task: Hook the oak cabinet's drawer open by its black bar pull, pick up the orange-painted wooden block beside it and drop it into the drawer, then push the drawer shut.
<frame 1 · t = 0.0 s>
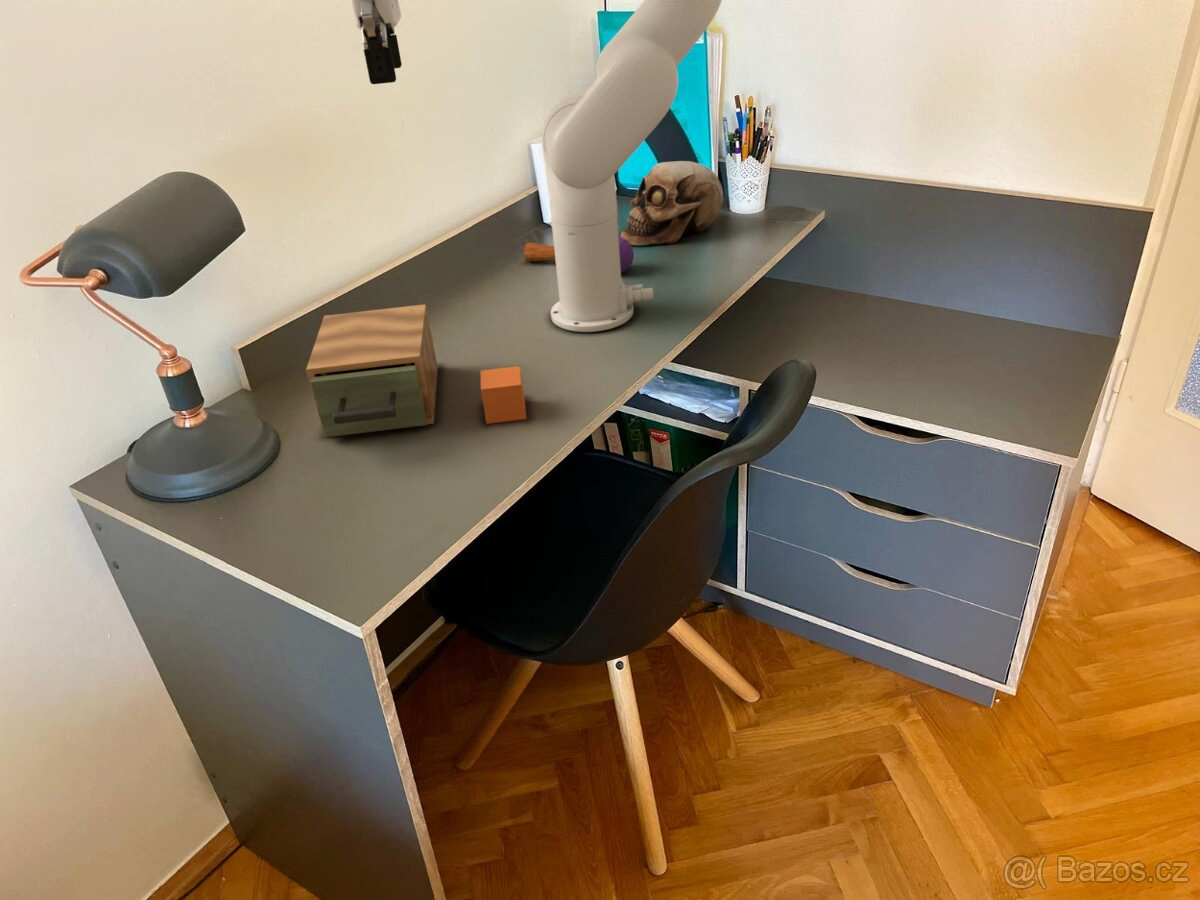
hand: (386, 75, 116), 37 cm above the table, tool pointing down, fingers open, 9 cm apart
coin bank: (670, 233, 165), on the table
cabinet: (384, 399, 120), on the table
block: (505, 411, 115), on the table
kendama: (579, 268, 154), on the table
drawer: (373, 385, 113), point 5 cm above the table, slide at 0.5 cm
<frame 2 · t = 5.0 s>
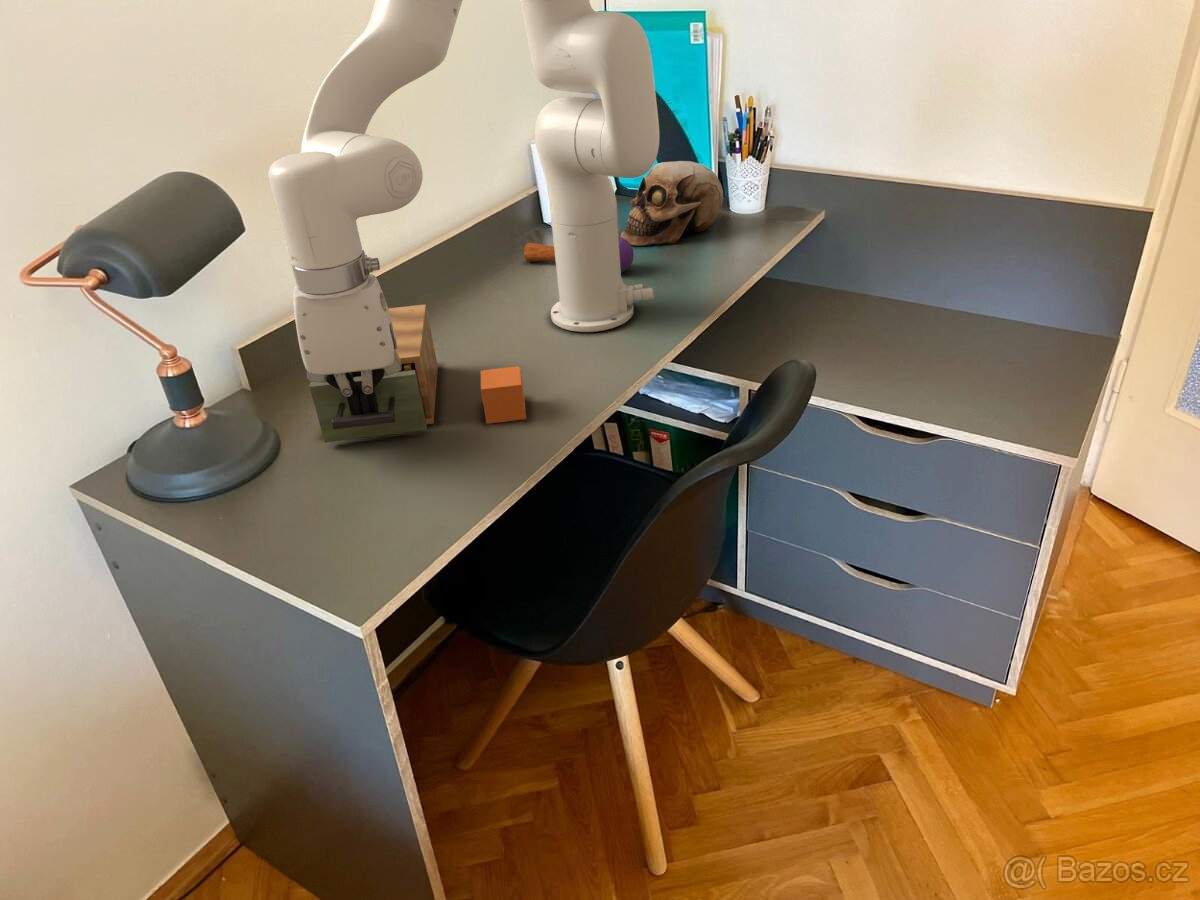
hand: (366, 418, 107), 5 cm above the table, tool pointing down, fingers closed
drawer: (372, 389, 112), point 5 cm above the table, slide at 1.7 cm
everything else where it was.
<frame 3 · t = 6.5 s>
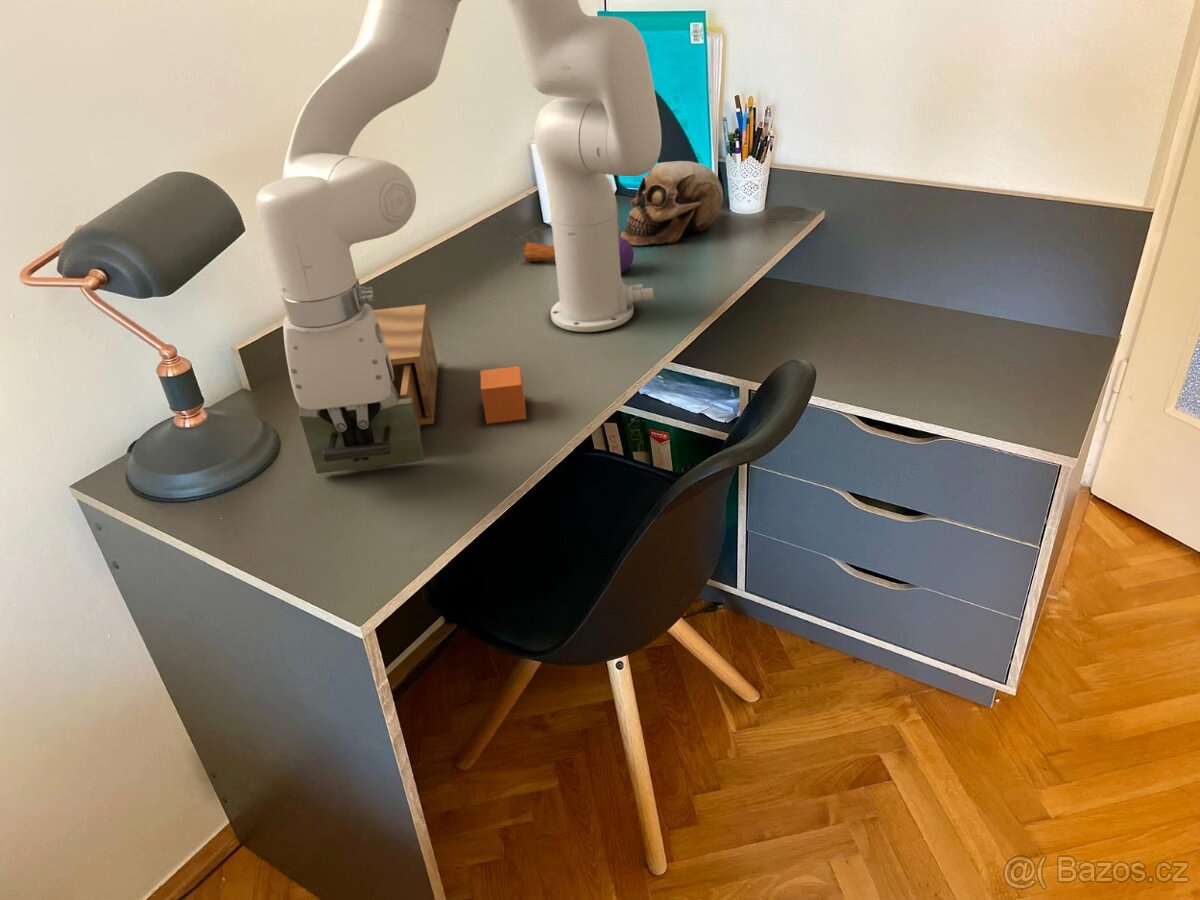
hand: (362, 453, 101), 4 cm above the table, tool pointing down, fingers closed
drawer: (367, 417, 106), point 5 cm above the table, slide at 8.5 cm, touching gripper
everything else where it was.
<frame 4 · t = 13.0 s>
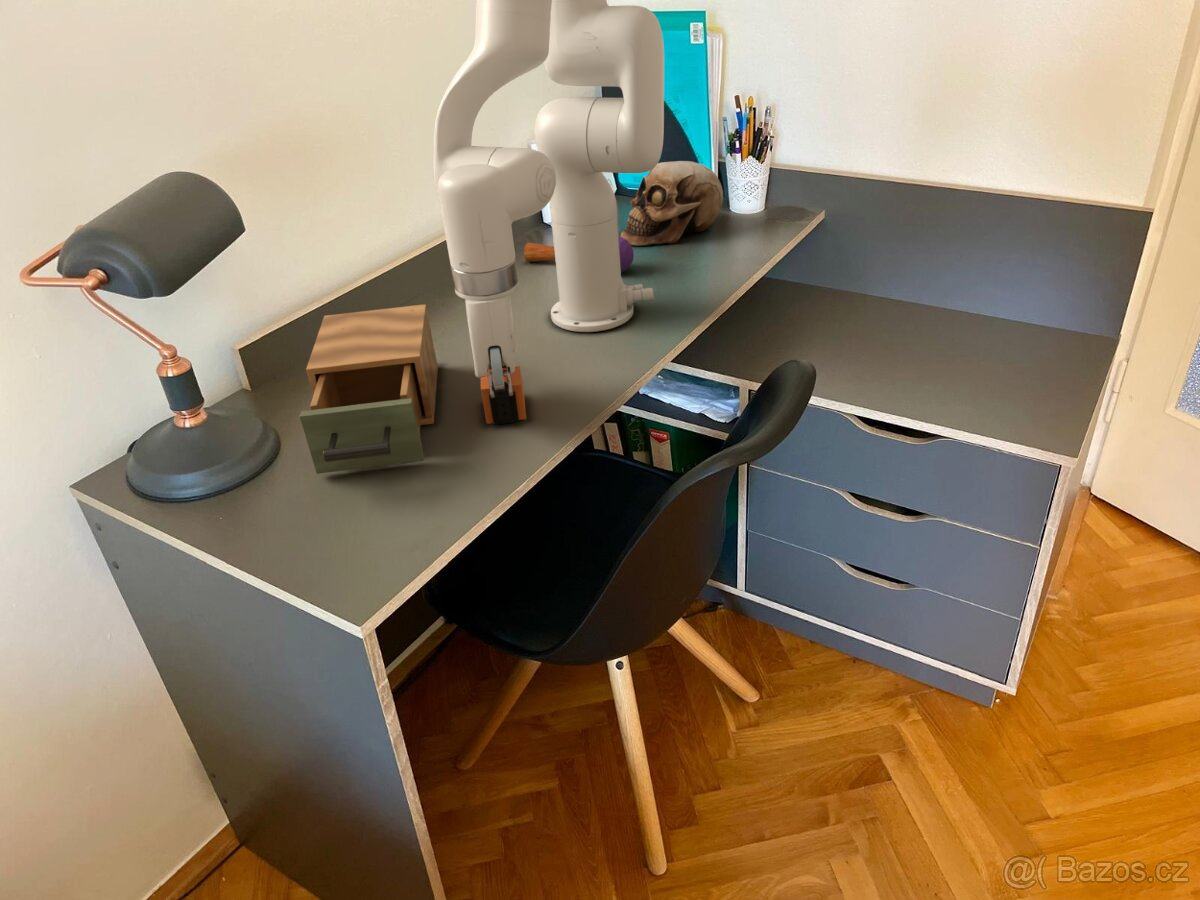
hand: (505, 408, 114), 0 cm above the table, tool pointing down, fingers closed on block, 5 cm apart
block: (505, 411, 115), on the table, touching gripper
drawer: (367, 417, 106), point 5 cm above the table, slide at 8.6 cm
everything else where it was.
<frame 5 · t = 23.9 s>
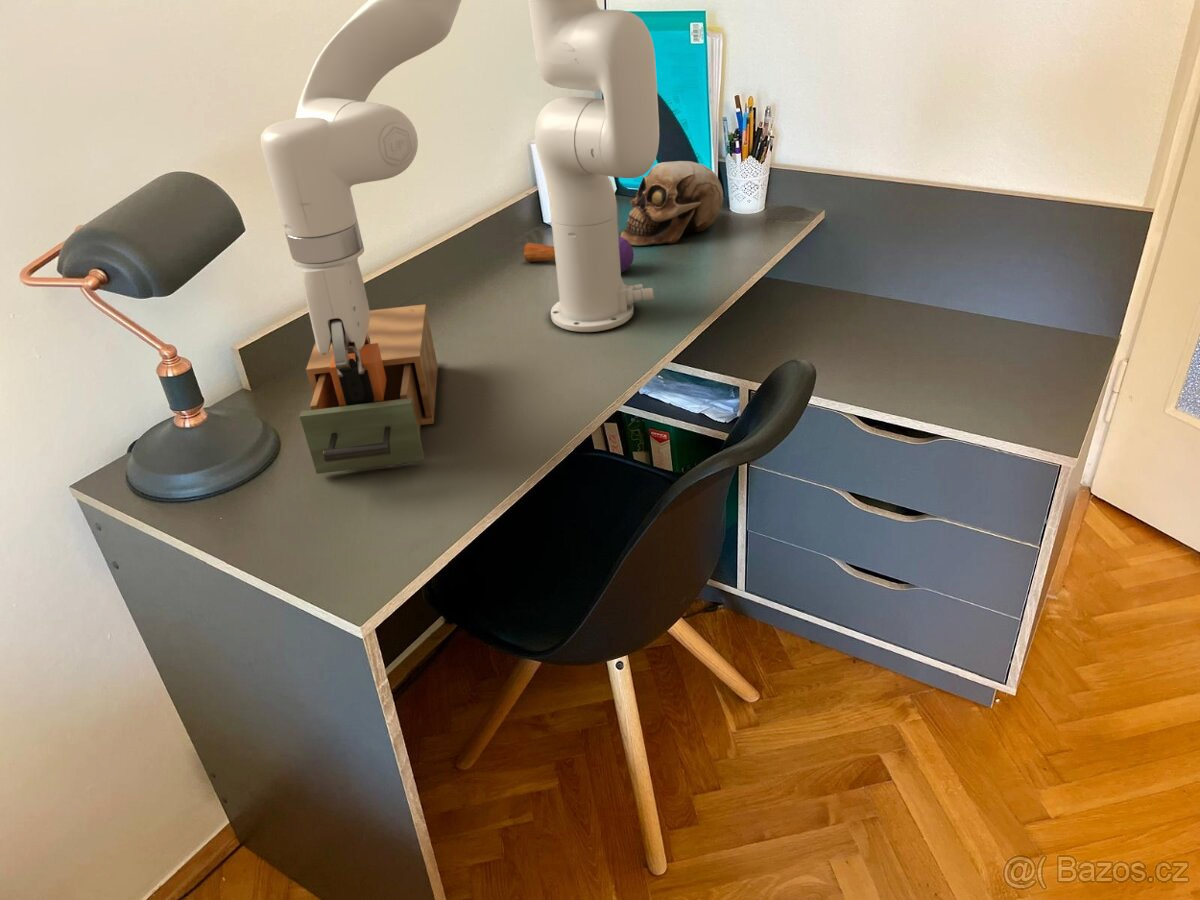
hand: (362, 389, 105), 8 cm above the table, tool pointing down, fingers closed on block, 5 cm apart
block: (363, 392, 105), point 8 cm above the table, touching gripper
everything else where it was.
when the fingers open (11 cm above the table, at t = 35.3 s): block drops 9 cm, resting on drawer.
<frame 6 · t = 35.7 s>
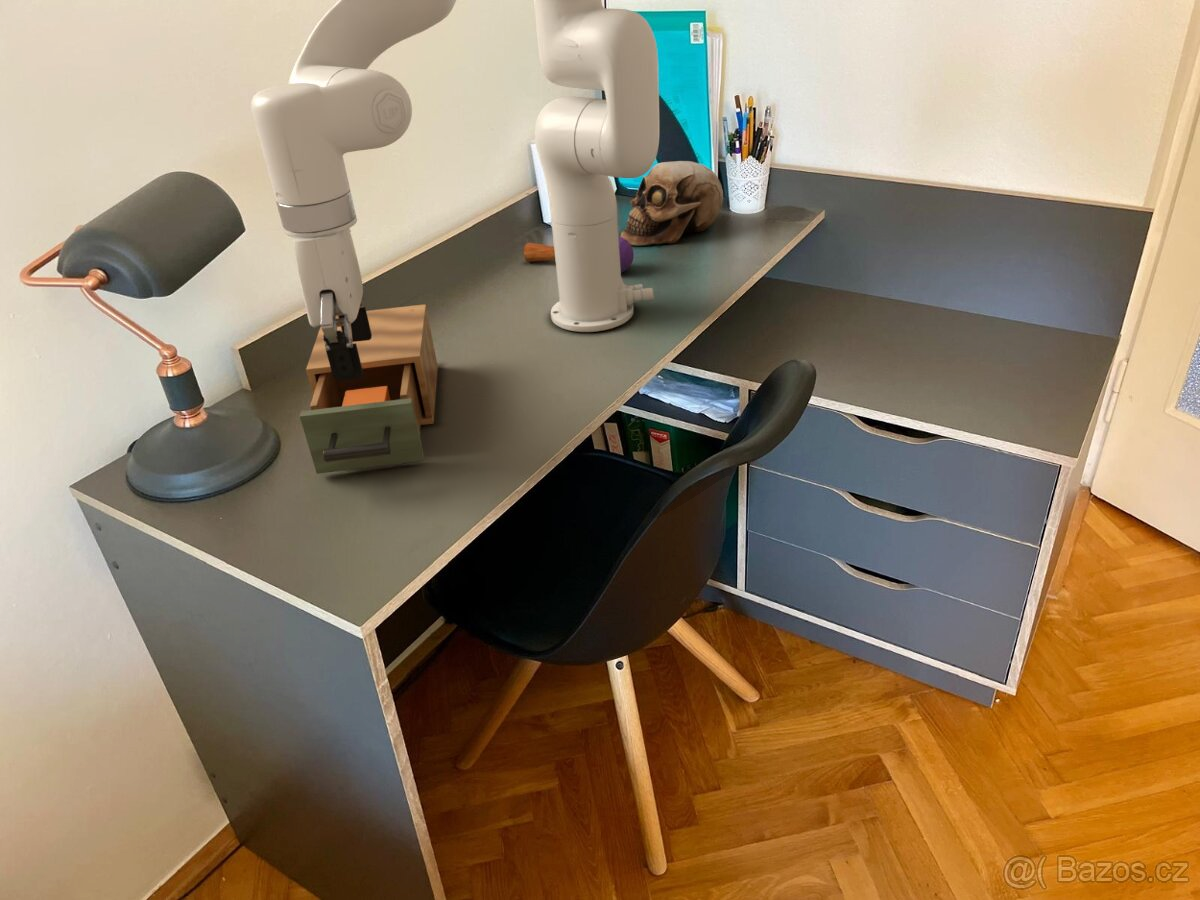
hand: (354, 358, 103), 12 cm above the table, tool pointing down, fingers open, 9 cm apart
block: (373, 434, 109), point 2 cm above the table, touching drawer
drawer: (367, 417, 106), point 5 cm above the table, slide at 8.6 cm, touching block
everything else where it was.
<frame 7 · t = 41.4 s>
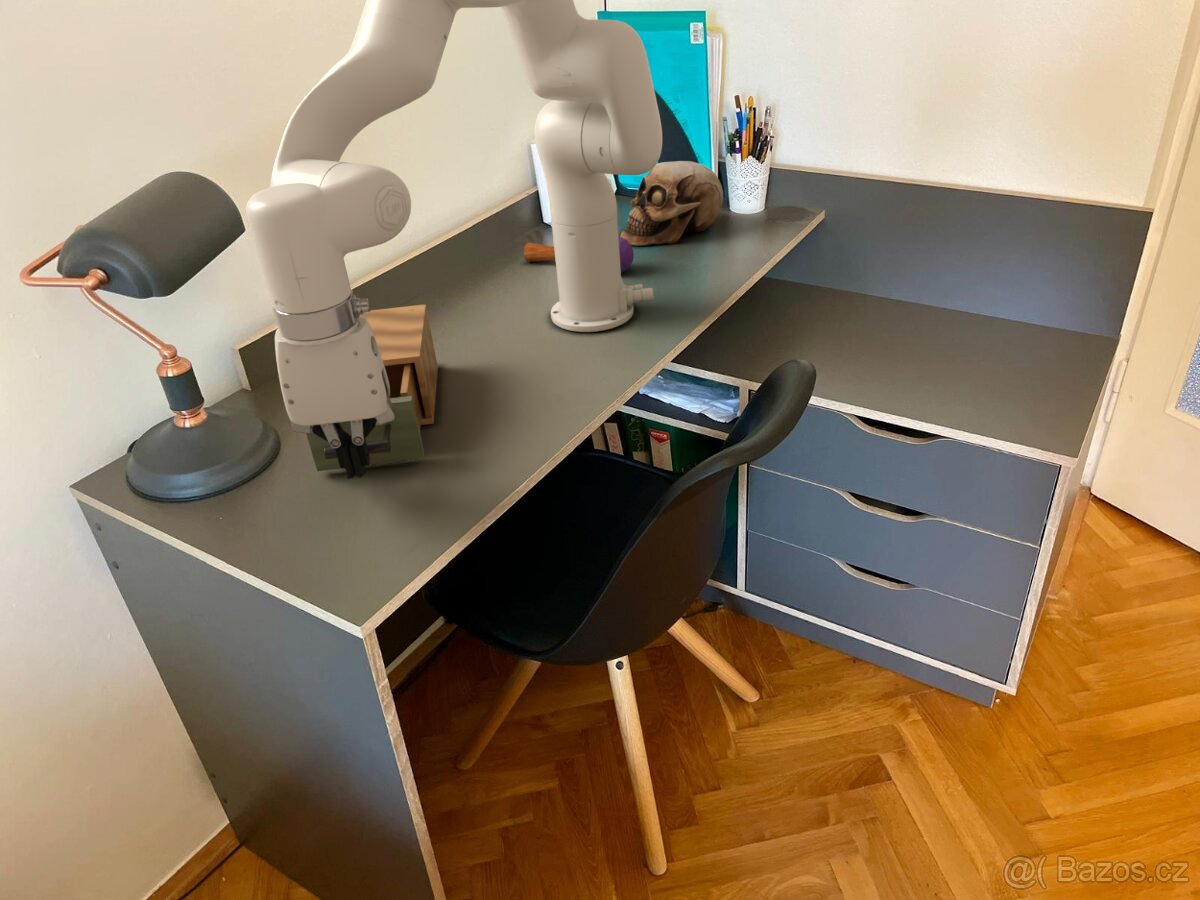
hand: (357, 470, 98), 4 cm above the table, tool pointing down, fingers closed
drawer: (367, 415, 107), point 5 cm above the table, slide at 8.1 cm, touching block
everything else where it was.
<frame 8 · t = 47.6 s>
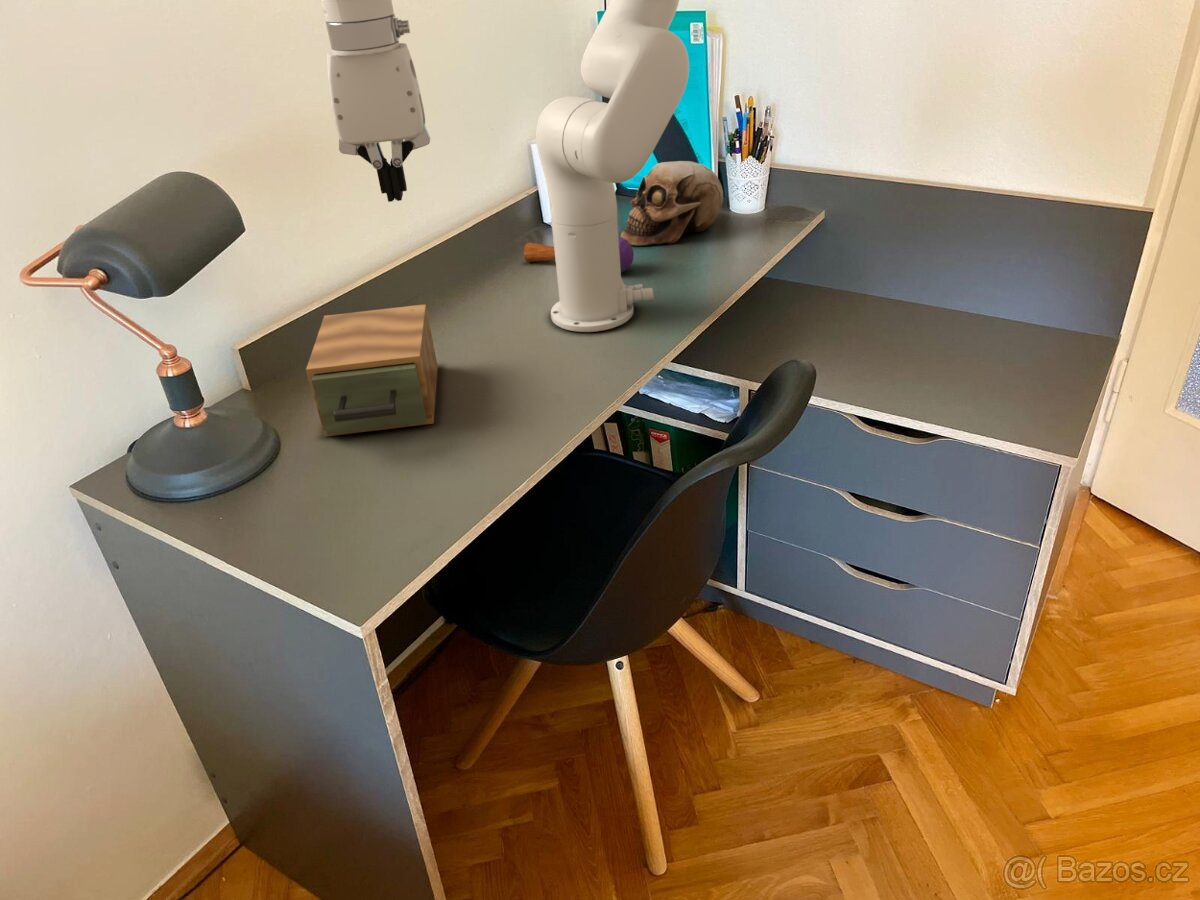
hand: (395, 197, 110), 25 cm above the table, tool pointing down, fingers closed
block: (379, 399, 116), point 2 cm above the table, touching drawer
drawer: (374, 383, 114), point 5 cm above the table, slide at 0.0 cm, touching block
everything else where it was.
at the end: drawer pulled out 8.6 cm at the most during the clip, back to where it started at the end; block inside the target area in the cabinet (3.3 cm from its centre), point 2.0 cm above the cabinet's base; drawer slide at 0.0 cm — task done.
